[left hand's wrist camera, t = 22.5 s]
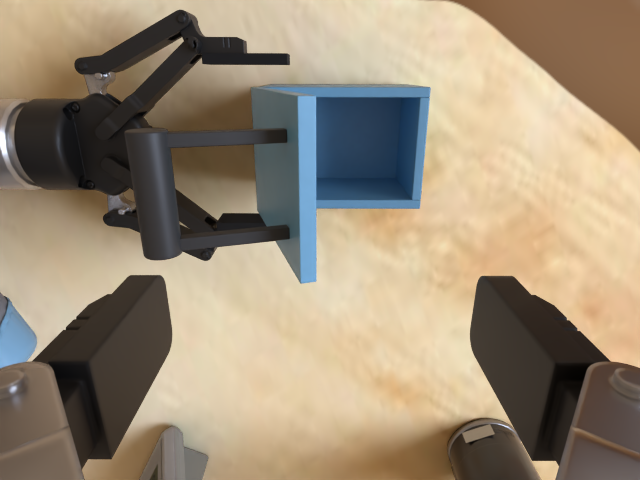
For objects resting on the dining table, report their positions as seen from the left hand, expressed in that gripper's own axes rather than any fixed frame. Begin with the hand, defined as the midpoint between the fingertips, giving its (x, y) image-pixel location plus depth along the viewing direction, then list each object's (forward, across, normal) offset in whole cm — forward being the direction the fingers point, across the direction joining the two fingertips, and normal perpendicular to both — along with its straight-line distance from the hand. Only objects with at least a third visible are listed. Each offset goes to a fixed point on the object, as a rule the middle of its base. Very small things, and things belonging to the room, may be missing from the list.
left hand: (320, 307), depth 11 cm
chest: (+34, -2, 0) cm, 34 cm away
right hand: (+27, +2, 0) cm, 27 cm away
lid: (+18, +2, 0) cm, 18 cm away
